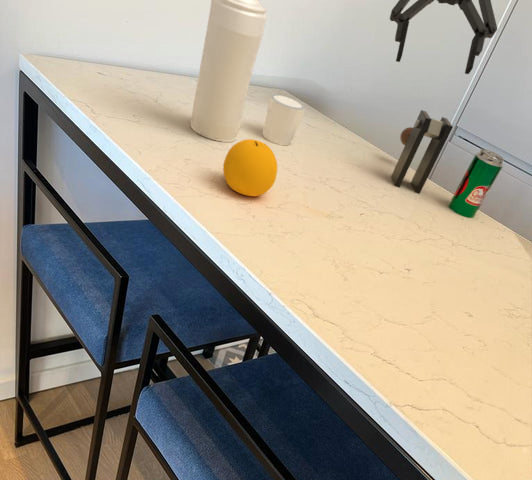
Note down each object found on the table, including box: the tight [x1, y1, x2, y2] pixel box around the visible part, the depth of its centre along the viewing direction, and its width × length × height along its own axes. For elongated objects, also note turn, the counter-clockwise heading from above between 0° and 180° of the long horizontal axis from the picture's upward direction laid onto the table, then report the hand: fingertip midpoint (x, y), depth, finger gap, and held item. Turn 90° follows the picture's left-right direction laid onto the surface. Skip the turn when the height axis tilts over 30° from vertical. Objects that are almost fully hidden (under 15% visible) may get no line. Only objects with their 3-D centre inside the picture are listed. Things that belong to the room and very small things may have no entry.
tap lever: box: [399, 117, 443, 146], centre depth 104 cm, size 14×3×3 cm, turn 179°
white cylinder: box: [262, 93, 306, 146], centre depth 105 cm, size 7×7×7 cm
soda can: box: [447, 148, 505, 219], centre depth 101 cm, size 5×5×12 cm
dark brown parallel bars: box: [390, 109, 454, 195], centre depth 102 cm, size 10×8×14 cm
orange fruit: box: [222, 138, 278, 197], centre depth 83 cm, size 8×8×8 cm
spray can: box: [190, 0, 268, 143], centre depth 92 cm, size 12×11×25 cm
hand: (433, 65), depth 111 cm, fingers open, 13 cm apart
